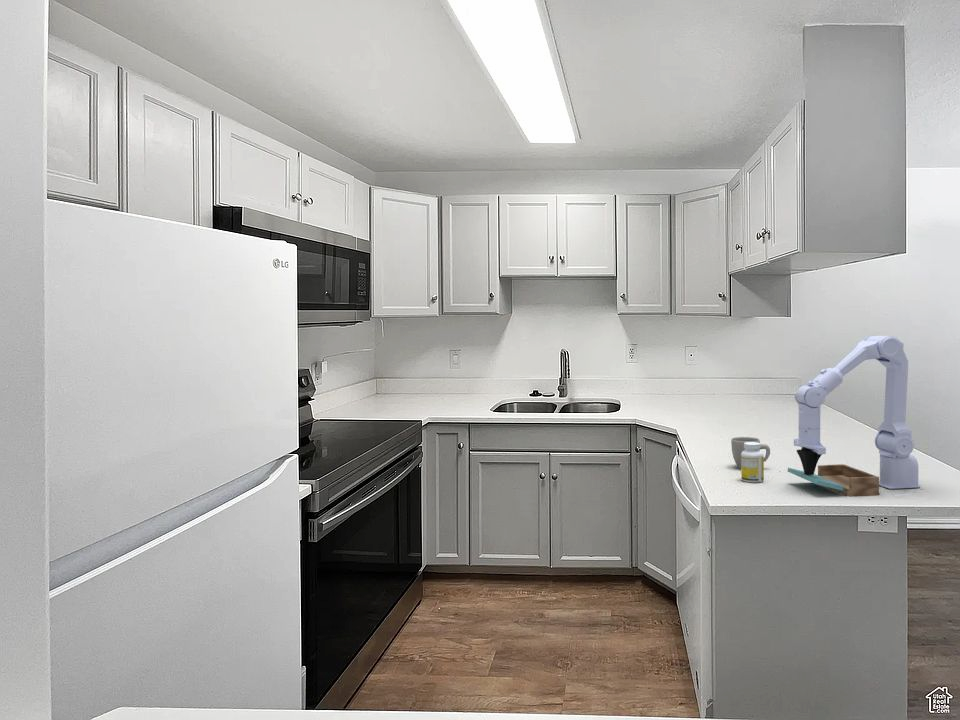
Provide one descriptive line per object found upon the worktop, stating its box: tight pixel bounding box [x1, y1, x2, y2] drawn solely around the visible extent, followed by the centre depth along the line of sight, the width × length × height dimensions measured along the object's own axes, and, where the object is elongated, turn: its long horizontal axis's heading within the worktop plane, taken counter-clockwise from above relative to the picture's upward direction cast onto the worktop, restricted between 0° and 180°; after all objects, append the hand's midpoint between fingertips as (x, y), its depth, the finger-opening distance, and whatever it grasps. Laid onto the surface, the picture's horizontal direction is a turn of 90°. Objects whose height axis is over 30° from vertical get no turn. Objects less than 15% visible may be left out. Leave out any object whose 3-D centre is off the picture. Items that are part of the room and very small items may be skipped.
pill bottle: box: [740, 442, 765, 484], centre depth 230 cm, size 6×6×12 cm
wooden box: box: [817, 463, 880, 497], centre depth 218 cm, size 9×18×5 cm, turn 4°
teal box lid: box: [786, 467, 846, 491], centre depth 217 cm, size 1×17×8 cm
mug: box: [730, 436, 771, 470], centre depth 248 cm, size 12×9×10 cm
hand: (809, 474), depth 217 cm, fingers closed, pressing on teal box lid
